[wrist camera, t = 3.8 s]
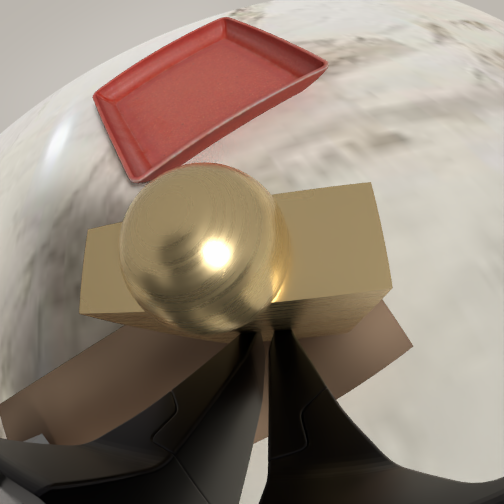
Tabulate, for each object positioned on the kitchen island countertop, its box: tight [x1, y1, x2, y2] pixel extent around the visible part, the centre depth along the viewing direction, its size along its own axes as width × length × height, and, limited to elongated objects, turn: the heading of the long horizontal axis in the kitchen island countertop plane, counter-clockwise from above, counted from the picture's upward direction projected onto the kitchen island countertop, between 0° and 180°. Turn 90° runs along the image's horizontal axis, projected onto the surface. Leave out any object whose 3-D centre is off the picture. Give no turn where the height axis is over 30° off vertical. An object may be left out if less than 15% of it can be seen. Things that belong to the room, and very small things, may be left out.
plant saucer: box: [93, 17, 329, 183], centre depth 26 cm, size 18×18×3 cm
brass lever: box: [79, 163, 393, 343], centre depth 8 cm, size 2×5×10 cm, turn 92°
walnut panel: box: [0, 300, 413, 445], centre depth 15 cm, size 8×26×4 cm, turn 119°
